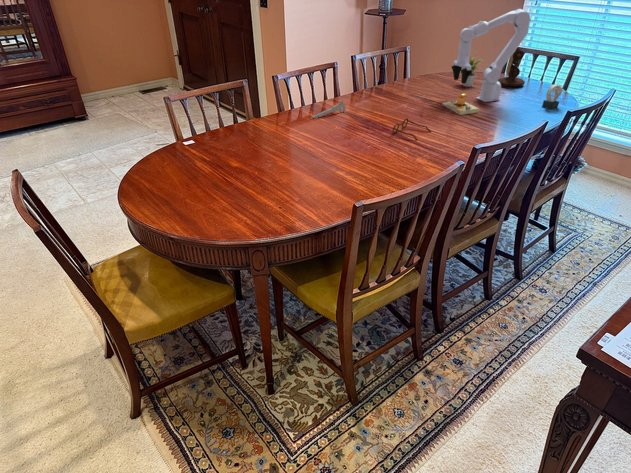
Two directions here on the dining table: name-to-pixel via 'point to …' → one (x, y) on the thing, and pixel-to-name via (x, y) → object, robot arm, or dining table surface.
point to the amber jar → (461, 99)
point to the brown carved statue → (513, 71)
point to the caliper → (331, 110)
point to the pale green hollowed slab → (461, 108)
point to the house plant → (471, 76)
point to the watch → (552, 102)
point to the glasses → (405, 126)
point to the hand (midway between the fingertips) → (459, 81)
